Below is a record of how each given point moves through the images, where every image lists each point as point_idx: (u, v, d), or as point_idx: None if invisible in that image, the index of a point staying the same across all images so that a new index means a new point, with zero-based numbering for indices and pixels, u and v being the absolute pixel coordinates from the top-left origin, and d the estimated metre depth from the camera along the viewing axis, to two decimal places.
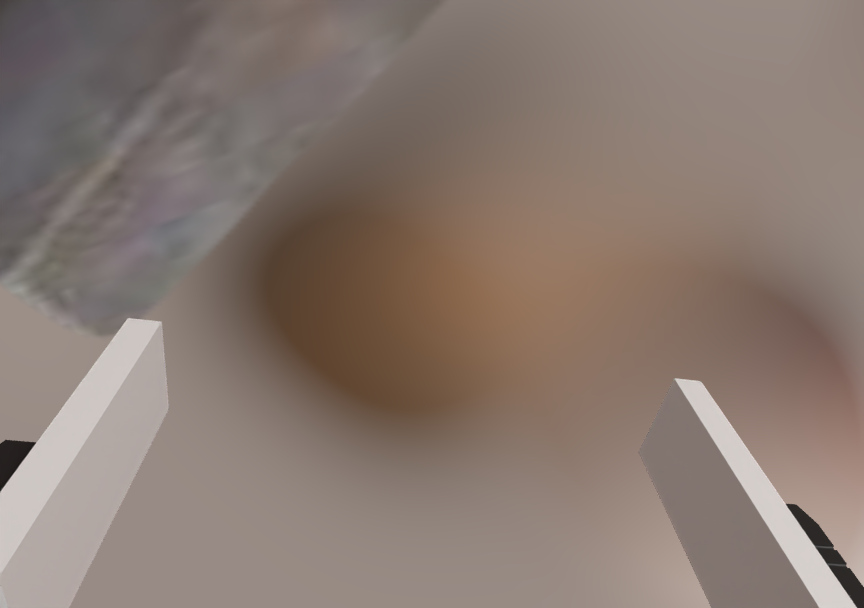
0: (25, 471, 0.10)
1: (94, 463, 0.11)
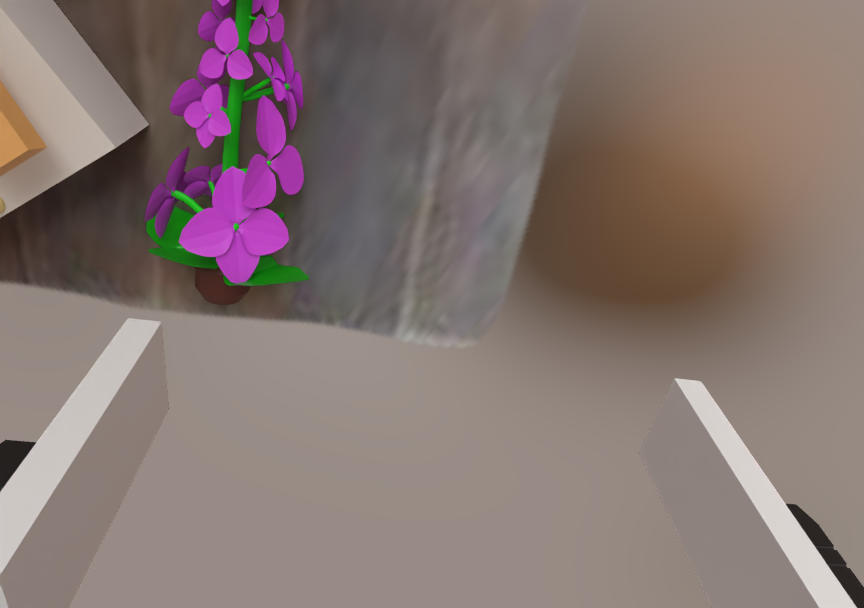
0: (25, 471, 0.10)
1: (94, 463, 0.11)
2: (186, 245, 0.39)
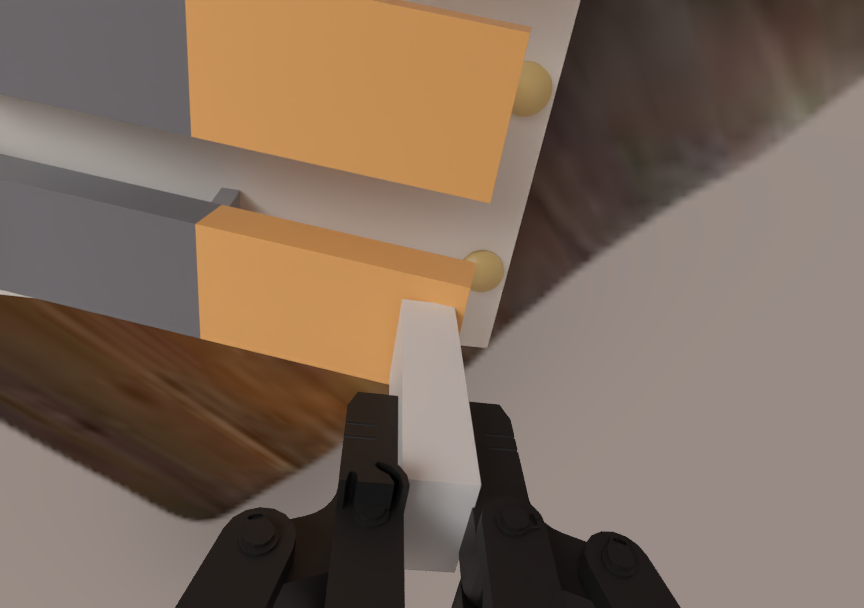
0: (410, 411, 0.12)
1: None
2: None
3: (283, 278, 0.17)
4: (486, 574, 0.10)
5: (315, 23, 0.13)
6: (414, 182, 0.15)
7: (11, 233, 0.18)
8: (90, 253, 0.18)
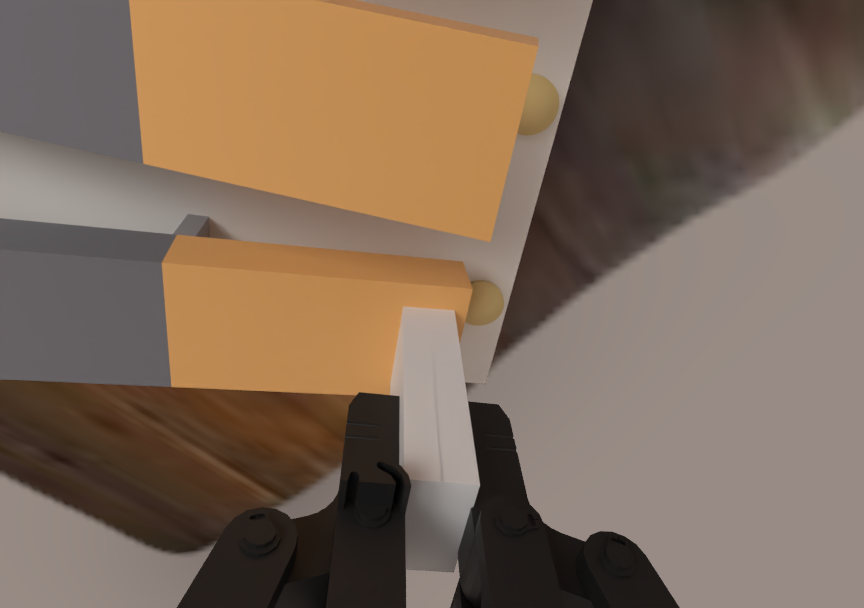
0: (411, 411, 0.12)
1: None
2: None
3: (271, 307, 0.16)
4: (485, 573, 0.10)
5: (283, 34, 0.11)
6: (402, 217, 0.13)
7: None
8: (21, 313, 0.15)
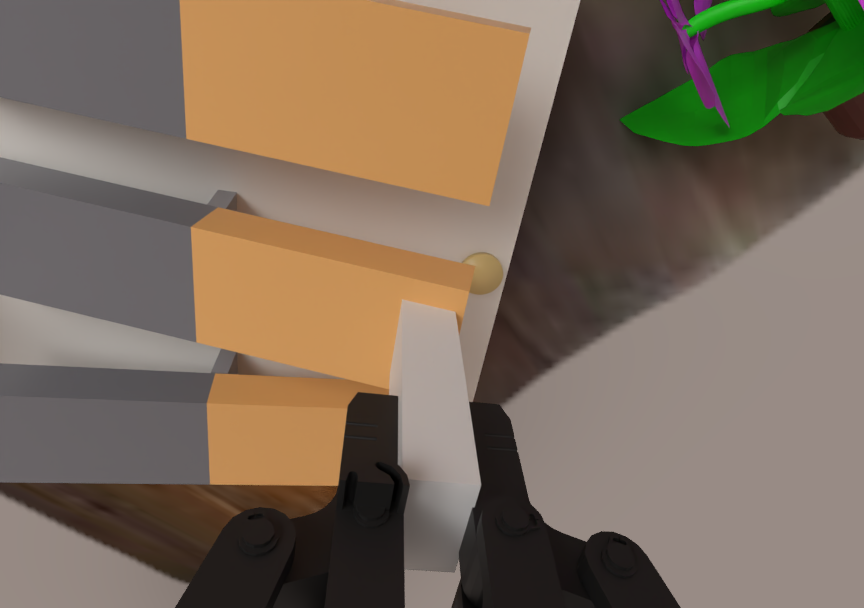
0: (409, 411, 0.12)
1: None
2: None
3: (286, 429, 0.21)
4: (486, 573, 0.10)
5: (297, 274, 0.17)
6: (381, 384, 0.18)
7: (18, 436, 0.19)
8: (102, 439, 0.20)
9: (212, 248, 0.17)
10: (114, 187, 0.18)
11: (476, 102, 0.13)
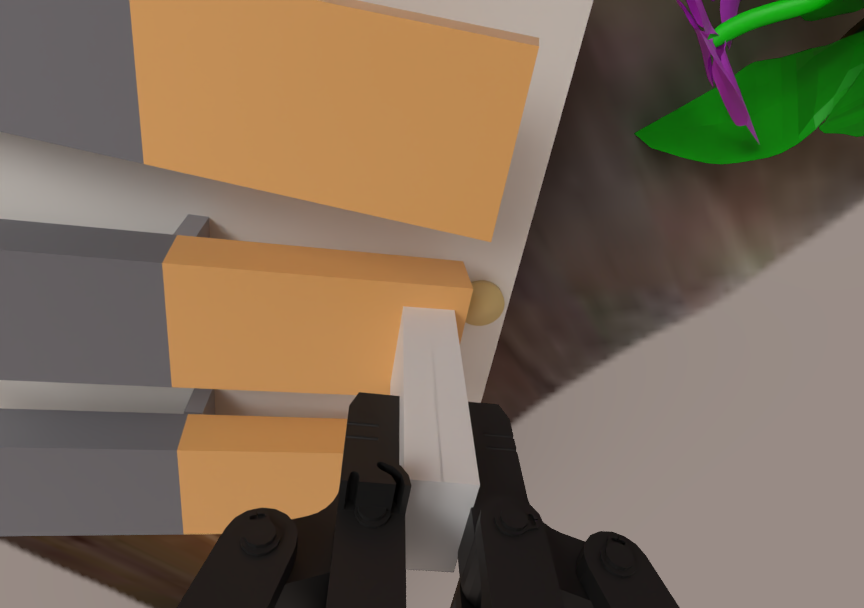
0: (411, 411, 0.12)
1: None
2: None
3: (266, 475, 0.19)
4: (485, 573, 0.10)
5: (291, 296, 0.15)
6: (383, 393, 0.18)
7: None
8: (61, 489, 0.18)
9: (189, 283, 0.15)
10: (43, 227, 0.15)
11: (476, 125, 0.12)
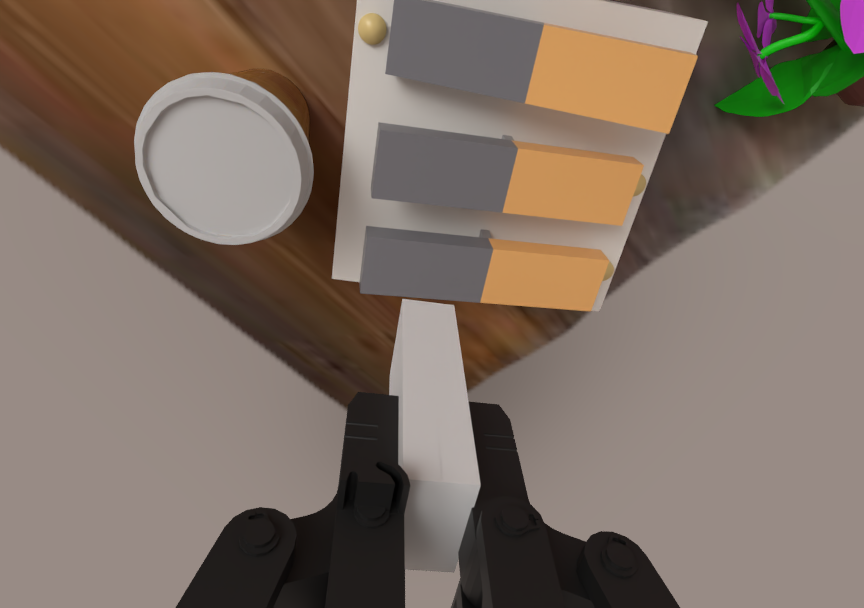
0: (410, 411, 0.12)
1: None
2: (862, 48, 0.31)
3: (528, 268, 0.38)
4: (486, 573, 0.10)
5: (565, 166, 0.35)
6: (593, 221, 0.37)
7: (395, 265, 0.37)
8: (435, 269, 0.37)
9: (526, 158, 0.34)
10: (461, 134, 0.34)
11: (670, 85, 0.31)
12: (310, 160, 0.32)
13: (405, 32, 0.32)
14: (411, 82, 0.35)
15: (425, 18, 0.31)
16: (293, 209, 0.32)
